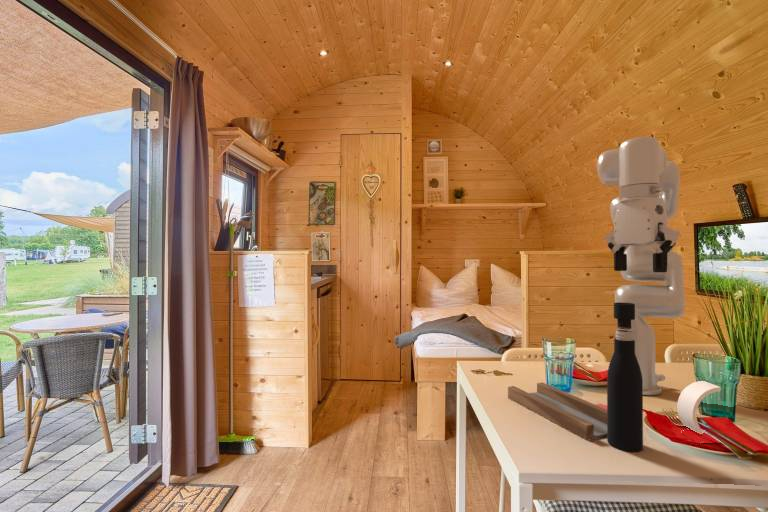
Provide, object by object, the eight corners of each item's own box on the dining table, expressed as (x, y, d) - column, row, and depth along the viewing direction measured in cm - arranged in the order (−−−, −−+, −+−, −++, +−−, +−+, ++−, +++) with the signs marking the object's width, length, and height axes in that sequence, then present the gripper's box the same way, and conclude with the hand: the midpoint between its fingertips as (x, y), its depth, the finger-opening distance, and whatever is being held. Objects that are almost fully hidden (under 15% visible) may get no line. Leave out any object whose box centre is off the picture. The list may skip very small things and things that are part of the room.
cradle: (542, 393, 115) (542, 382, 115) (627, 432, 89) (627, 418, 89) (508, 398, 112) (508, 386, 112) (586, 440, 86) (586, 425, 86)
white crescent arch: (721, 443, 84) (721, 387, 84) (692, 443, 84) (692, 387, 84) (704, 434, 89) (703, 380, 89) (677, 433, 89) (676, 380, 89)
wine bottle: (648, 453, 80) (647, 305, 80) (613, 450, 81) (613, 304, 81) (635, 439, 86) (634, 302, 86) (603, 436, 87) (602, 301, 88)
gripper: (691, 189, 81) (691, 272, 81) (618, 201, 97) (619, 270, 97) (663, 187, 79) (663, 273, 78) (594, 199, 95) (594, 270, 95)
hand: (639, 271), depth 88 cm, fingers open, 9 cm apart
